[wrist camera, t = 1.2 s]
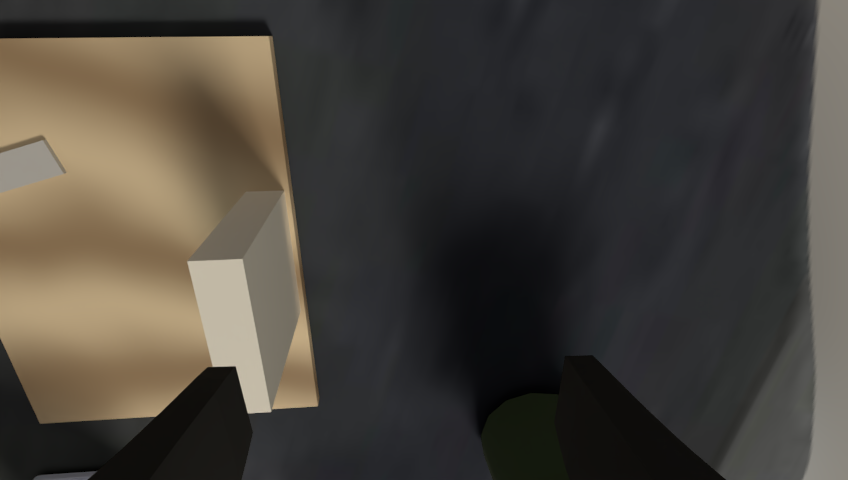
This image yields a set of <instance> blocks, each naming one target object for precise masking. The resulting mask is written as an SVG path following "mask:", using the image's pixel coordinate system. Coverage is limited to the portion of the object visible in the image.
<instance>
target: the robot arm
mask: <svg viewBox="0 0 848 480" xmlns="http://www.w3.org/2000/svg"><path fill="white" fill-rule="evenodd" d="M554 424H555V428H556V432H557V436H558V441H559V445H560V449H561V453H562V457H563V460H564V464H565V468H566V471H567V474H568V477H569V479H570V480H726V479H724V478H723V477H722V476H721V475H720V474H718V473H717V472H716V471H715V470H714V469H713V468H711V467H710V466H709V465H708V464H707V463H706V462H704V461H703V460H702V459H701V458H700V457H698V456H697V455H696V454H695V453H694V452H693V451H691V450H690V449H689V448H688V447H687V446H686V445H685V444H684V443H683V442H681V441H680V440H679V439H678V438H677V437H676V436H675V435H674V434H673V433H672V432H671V431H669V430H668V429H667V428H666V427H665V426H664V425H663V424H662V423H661V422H660V421H659V420H658V419H657V418H656V417H655V416H653V415H652V414H651V413H650V412H649V411H648V410H647V409H646V408H645V407H644V406H643V405H642V404H641V403H640V402H639V401H638V400H637V399H636V398H635V397H634V396H633V395H632V394H631V393H630V392H629V391H628V390H627V389H626V388H625V387H624V386H623V385H622V384H621V383H620V382H619V381H618V380H617V379H616V378H615V377H614V376H613V375H612V374H611V373H610V372H609V371H608V370H607V369H606V368H605V367H604V366H603V365H602V364H601V363H600V362H599V361H598V360H597V359H596V358H595V357H594V356H593V355H589V356H565V360H564V366H563V372H562V378H561V384H560V390H559V396H558V402H557V408H556V414H555V420H554ZM252 433H253V432H252V428H251V424H250V420H249V416H248V412H247V408H246V404H245V401H244V397H243V393H242V389H241V385H240V381H239V377H238V374H237V370H236V366H227V367H207V368H206V369H205V370H204V371H203V372H202V373H201V374H200V375H198V376H197V377H196V378H195V379H194V380H193V381H192V382H191V383H190V384H189V385H188V386H187V387H186V388H185V389H184V390H183V391H182V392H181V393H180V394H179V395H178V396H177V397H176V398H175V399H174V400H173V401H172V402H171V403H170V404H169V405H168V406H167V407H166V408H165V409H164V410H163V411H162V412H161V413H159V414H158V415H157V416H156V417H155V418H154V419H153V420H152V421H151V422H150V423H149V424H148V425H147V426H146V427H145V428H144V429H143V430H142V431H141V432H140V433H139V434H137V435H136V436H135V437H134V438H133V439H132V440H131V441H130V442H129V443H128V444H127V445H126V446H125V447H124V448H123V449H122V450H121V451H119V452H118V453H117V454H116V455H115V456H114V457H113V458H111V459H110V460H109V461H108V462H107V463H106V464H105V465H104V466H102V467H101V468H100V469H99V470H98V471H91V472H76V473H62V474H48V475H39V476H36V477H35V478H34V479H33V480H241V479H242V475H243V471H244V467H245V463H246V459H247V455H248V451H249V446H250V442H251V438H252Z"/></svg>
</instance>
